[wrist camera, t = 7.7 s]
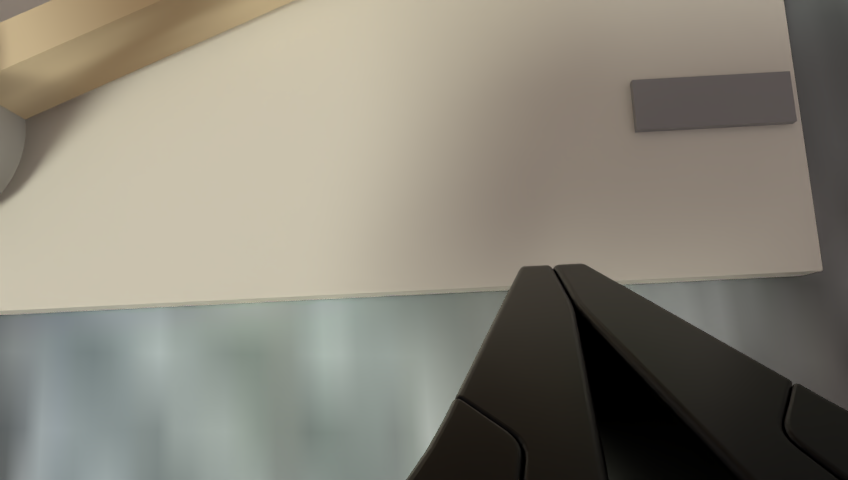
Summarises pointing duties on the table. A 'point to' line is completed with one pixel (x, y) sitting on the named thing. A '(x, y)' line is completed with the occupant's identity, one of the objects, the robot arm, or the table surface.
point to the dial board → (418, 156)
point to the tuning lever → (95, 51)
